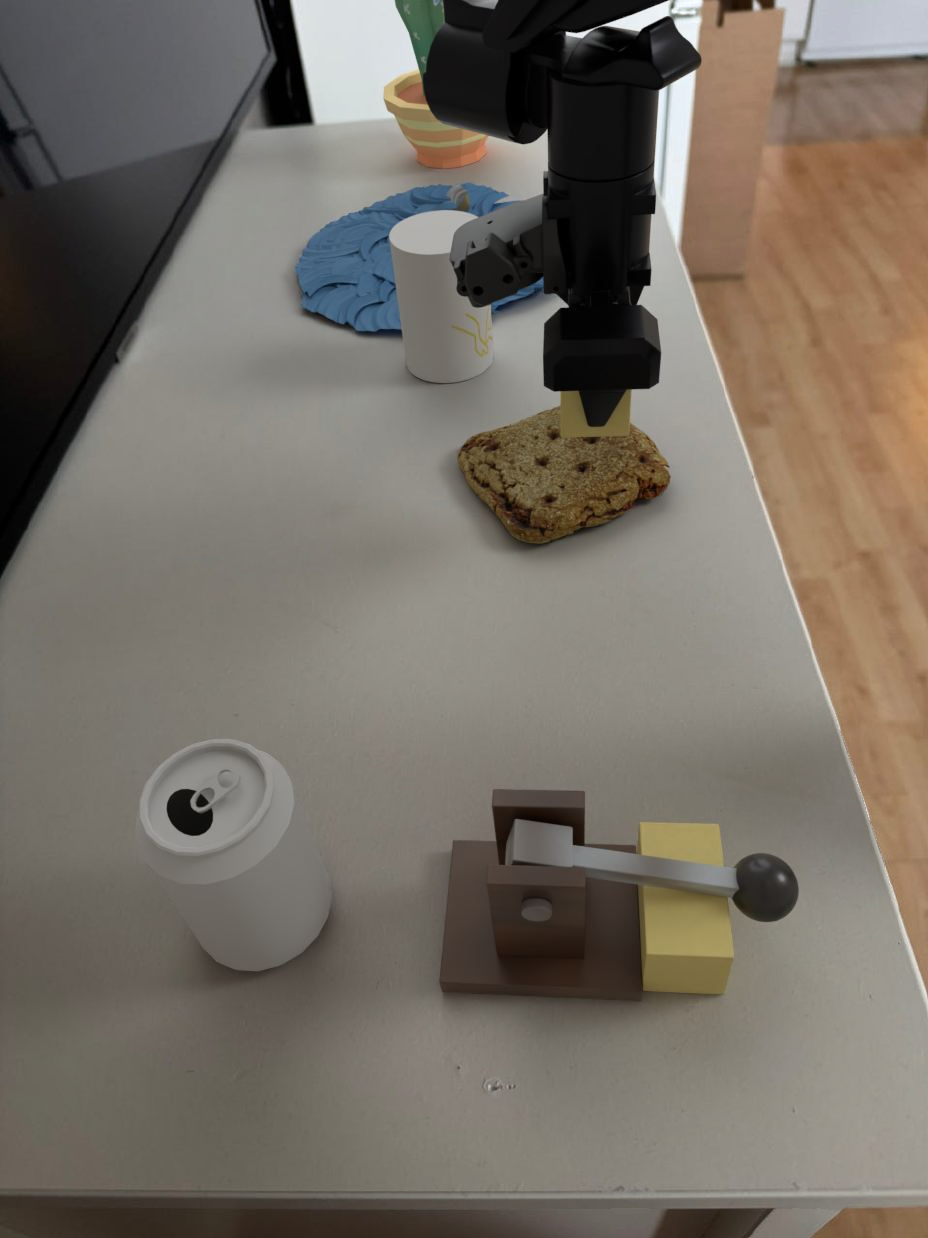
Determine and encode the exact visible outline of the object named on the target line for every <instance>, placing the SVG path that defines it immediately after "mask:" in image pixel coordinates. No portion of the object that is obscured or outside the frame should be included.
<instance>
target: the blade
mask: <svg viewBox="0 0 928 1238" xmlns="http://www.w3.org/2000/svg"><path fill="white" fill-rule="evenodd" d="M505 865H522V866H555V867H585V869H586V877H588V878H595V879H602V880H609V881H617V882H624V883H631V884H638V885H645V886H652V887H659V888H666V889H673V890H680V891H687V892H694V893H701V894H708V895H715V896H722V897H727V898H728V899H729V898H730V899H731V900H732V902H733V905H735V907H736V909H738V910H739V912H740V913H741V914H742V915H744V916H745V917H747V918H749V919H750V920H753V921H756V922H760V923H773V922H777V921H781V920H782V919H784V918H786V917H787V916H789V914H791V912H792V911H793V909H795V907H796V905H797V902H798V900H799V892H800V888H799V882H798V879H797V876H796V873H795V872H794V870H793V869H792V868H791V866H790V865H789V864H788V863H787V862H786V861H784V860H783V859H782V858H780V857H779V856H776V855H773V854H771V853H767V852H758V853H752V854H748V855H747V856H744V857H742V858H741V859H740V860H739V861H737V863H736V864H735V865H734V867H729V866H724V867H723V866H716V865H709V864H702V863H695V862H688V861H681V860H674V859H667V858H660V857H653V856H646V855H639V854H637V853H636V854H632V853H625V852H618V851H611V850H604V849H598V848H591V847H584V846H577V845H573V828H572V827H569V826H562V825H555V824H548V823H541V822H535V821H528V820H521V819H515V820H514V823H513V826H512V829H511V832H510V834H509V837H508V840H507V843H506V858H505Z"/></svg>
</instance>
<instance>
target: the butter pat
mask: <svg viewBox="0 0 928 1238" xmlns="http://www.w3.org/2000/svg"><path fill="white" fill-rule="evenodd" d="M632 390H633V389H632ZM632 390H627V391H626V392H625V394H624V395H623V397H622V399H621V400H620V402H619V404H618V405H617V407H616V409H615V410H614V412H613V413H612V415H611V417H610V418H609V420H608V422H607V423H606V425H605V426H603V427H589V426H588V425H587V421H586V417H585V413H584V410H583V406H582V402H581V399H580V395H579V391H559V393H560V405H561V437H600V436H629V429H630V423H631V410H632V408H631V407H632V393H633V392H632Z"/></svg>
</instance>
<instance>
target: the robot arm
mask: <svg viewBox="0 0 928 1238" xmlns="http://www.w3.org/2000/svg"><path fill="white" fill-rule="evenodd" d="M668 1H669V2H670V0H443V7H444V18H445V22H444V23H443V24H442V25H441V27H440V28H439V30H438V31H437V33H436V35H435V37H434V39H433V42H432V44H431V46H430V50H429V54H428V58H427V64H426V71H425V72H424V74H423V88H424V93H425V98H426V101H427V104H428V106H429V109H430V111H431V112H432V114H433V115H434V116H435V118H436V119H437V120H439V121H440V122H442V123H443V124H446V125H450V126H454V127H458V128H461V129H465V130H469V131H473V132H477V133H480V134H484V135H488V137H493V138H496V139H500V140H504V141H508V142H510V143H511V142H512V143H515V144H519V145H523V146H524V145H528V144H533V143H535V142H536V141H537V140H539V139H540V138H541V137H542V136H543V135H545V133H546V132H547V170H545V171H543V176H542V188H543V193H541V194H538V195H536V196H532V197H530V198H527V199H523V200H522V199H521V200H516V201H517V202H514V203H512V204H509V205H507V206H505V207H502V208H500V209H497V210H495V211H493V212H490V213H488V214H485V215H483V216H481V217H478V218H476V219H474V220H471V221H469V222H467V223H465V224H463V225H462V226H461V227H459V228H458V229H457V230H456V231H455V233H454V236H453V241H452V247H451V252H450V262H451V264H452V266H453V268H454V269H453V270H454V272H455V274H456V276H457V287H456V289H457V292H458V294H459V295H461V296H463V297H468V299H469V301H470V303H471V305H472V306H473V307H475V308H481V307H485V306H488V305H490V304H492V303H494V302H496V301H499V300H501V299H504V298H507V297H509V296H512V295H514V294H516V293H517V292H518V290H520V289H523V288H526V287H528V286H531V285H533V284H535V283H536V282H538V281H539V280H540V279H541V278H542V277H543V287H544V288H543V295H557V297H559V298H560V299H561V300H562V301H563V302H564V303H565V304H566V305H567V307H559V308H558V310H556V311H555V312H554V313H553V314H552V315H551V316H550V317H549V318H548V319H547V320H546V321H545V322H543V341H542V342H543V345H542V372H543V373H542V374H543V375H542V378H543V379H542V380H543V387H544V388H546V389H549V390H550V391H552V392H556V393H557V392H560V391H579V395H580V399H581V402H582V406H583V410H584V413H585V417H586V421H587V425H588V426H589V427H603V426H605V425H606V423H607V422H608V420H609V418H610V417H611V415H612V413H613V412H614V410H615V409H616V407H617V405H618V404H619V402H620V400H621V399H622V397H623V395H624V394H625V392H626V391H627V390H650V389H652V388H653V387H655V386H656V385H658V384H659V383H660V376H661V375H660V374H661V363H662V346H661V338H660V330H659V329H660V328H659V320H658V318H657V317H655V315H653V314H652V313H651V312H650V311H649V310H648V309H647V308H646V307H645V306H644V305H642V304H638V302H639V300H640V299H641V295H642V294H643V291H644V288H645V287H651V282H652V263H651V262H652V261H651V253H650V246H651V228H652V227H651V226H652V215H656V205H657V191H656V190H657V189H656V181H655V162H656V146H657V131H658V116H659V114H658V113H659V98H660V91H661V90H663V89H664V88H666V87H668V86H670V85H671V84H673V83H675V82H677V81H679V80H680V79H682V78H683V77H686V76H687V75H689V74H692V73H693V72H694V71H696V70H698V69H699V68H700V67H701V65H702V62H703V59H702V55H701V54H700V52H699V51H698V50H697V49H696V48H695V46H694V44H692V42H691V41H690V40H688V39H687V38H686V37H685V36H683V34H682V33H681V32H680V30H679V29H678V28H677V26H676V23H675V21H674V19H673V17H672V16H670V15H666V16H663V17H662V18H659V19H658V20H655V21H654V22H652V23H650V24H648V25H646V26H644V27H642V28H641V29H640V30H634V29H627V28H621V27H616V26H610V25H607V24H610V23H613V22H616V21H618V20H621V19H624V18H627V17H630V16H633V15H635V14H638V13H640V12H643V11H646V10H649V9H651V8H653V7H656V6H658V5H661V4H663V3H666V2H668ZM587 31H588V32H587ZM584 32H587V33H586V34H585V35H584V36H583V37H576V36H572V35H567V33H572V34H579V33H584Z"/></svg>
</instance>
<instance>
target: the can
mask: <svg viewBox="0 0 928 1238" xmlns="http://www.w3.org/2000/svg"><path fill="white" fill-rule="evenodd" d="M135 843H136V845H137V848H138V850H139V853H140V855H141V858H142V860H143V862H144V863H145V865H146V866H147V868H148V869H149V871H150V872H151V874H152V875H153V877H154V878H155V880H156V881H157V882H158V884H159V886H160V887H161V888H162V890H163V891H164V893H165V894H166V896H167V897H168V899H169V900H170V902H171V903H172V904H173V906H174V907H175V909H176V910H177V912H178V913H179V915H180V917H181V918H182V919H183V921H184V923H185V924H186V926H187V927H188V928H189V930H190V931H191V933H192V934H193V936H194V937H195V939H196V940H197V942H198V943H199V944H200V946H201V948H203V950H204V951H205V952H206V953H207V954H208V955H209V956H210V957H211V958H212V959H213V960H215V962H216V963H217V964H221V965H223V966H225V967H228V968H229V969H230V968H231V969H233V970H235V971H246V972H247V971H248V972H260V971H264V970H267V969H268V970H269V969H273V968H276V967H281V966H282V965H285V964H286V963H287V962H288V961H291V960H293V959H294V958H296V957H297V956H299V955H301V954H302V953H303V952H304V951H305V950H306V949H307V948H308V947H309V946H310V945H311V944H312V942H314V941H315V940H316V939H317V938H318V937H319V935H320V933H321V931H322V929H323V927H324V926H325V924H326V922H327V920H328V919H329V915H330V910H331V905H332V899H333V892H332V885H331V878H330V874H329V872H328V869H327V867H326V865H325V864H326V863H325V861H324V859H323V857H322V854H321V851H320V849H319V847H318V844H317V842H316V839H315V837H314V834H313V832H312V829H311V827H310V824H309V821H308V819H307V816H306V813H305V811H304V809H303V806H302V804H301V801H300V798H299V796H298V794H297V791H296V789H295V786H294V784H293V781H292V779H291V777H290V776H289V774H288V773H287V770H286V769H285V767H284V766H283V764H281V762H279V761H278V760H277V759H275V758H274V757H273V756H271V754H269V753H268V752H265V751H263V750H260V749H257V748H256V747H254V746H253V745H252V744H249V743H246V742H243V741H240V740H237V739H234V738H211V739H208V740H204V741H199V742H195V743H192V744H190V745H188V746H186V747H183V748H182V749H180V750H178V751H176V752H174V753H173V754H172V755H170V756H169V757H168V758H167V759H165V760H164V761H163V762H161V764H159V765H158V766H157V767H156V769H154V771H153V772H152V774H151V775H150V777H149V778H148V780H147V781H146V782H145V784H144V787H143V789H142V793H141V795H140V798H139V800H138V813H137V815H136V819H135Z"/></svg>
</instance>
